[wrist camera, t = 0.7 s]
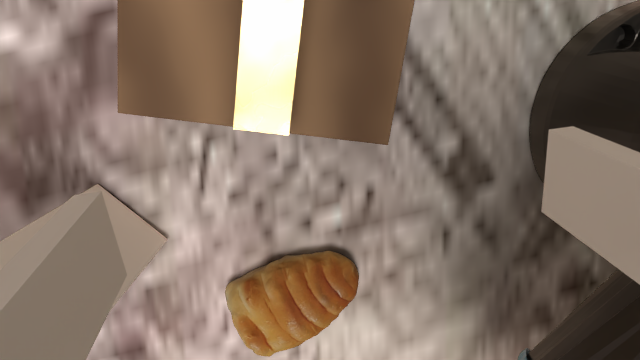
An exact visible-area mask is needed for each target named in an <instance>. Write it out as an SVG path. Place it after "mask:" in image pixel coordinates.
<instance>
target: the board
mask: <svg viewBox="0 0 640 360" xmlns="http://www.w3.org/2000/svg"><path fill="white" fill-rule="evenodd" d="M413 5H414V0H304V6H303V15H302V23H301V32H300V41H299V50H298V58H297V67H296V76H295V85H294V93H293V102H292V111H291V120H290V128H289V133H291V134H300V135H308V136H317V137H325V138H333V139H342V140H350V141H359V142H367V143H375V144H384V145H388V142H389V137H390V131H391V126H392V120H393V115H394V109H395V104H396V98H397V93H398V87H399V82H400V76H401V71H402V66H403V60H404V55H405V49H406V44H407V38H408V33H409V27H410V22H411V16H412V11H413ZM242 7H243V0H118V113H123V114H132V115H140V116H149V117H157V118H165V119H174V120H182V121H191V122H199V123H207V124H216V125H224V126H233V125H234V112H235V99H236V86H237V73H238V60H239V46H240V33H241V20H242Z"/></svg>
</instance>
